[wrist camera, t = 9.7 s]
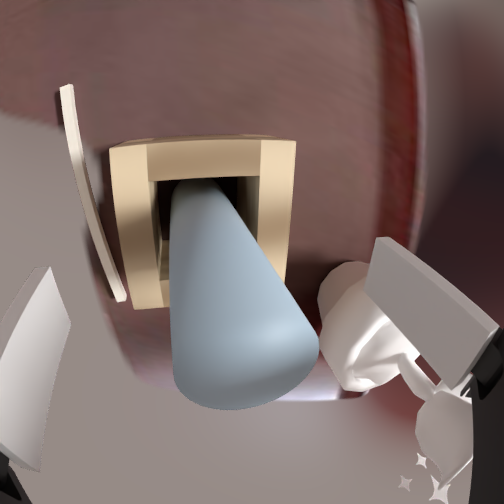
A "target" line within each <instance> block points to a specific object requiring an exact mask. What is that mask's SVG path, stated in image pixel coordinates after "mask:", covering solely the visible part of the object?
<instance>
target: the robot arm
mask: <svg viewBox="0 0 504 504" xmlns="http://www.w3.org/2000/svg"><path fill="white" fill-rule="evenodd" d="M363 291H364V292H365V293H366V294H367V295H368V296H369V297H370V299H371V300H372V301H373V302H374V303H375V304H376V305H377V306H378V307H379V308H380V309H381V310H382V311H383V313H384V314H385V315H386V316H387V317H388V318H389V319H390V320H391V321H392V322H393V323H394V325H395V326H396V327H397V328H398V329H399V330H400V331H401V332H402V334H403V335H404V336H405V337H406V338H407V339H408V340H409V341H410V343H411V344H412V345H413V346H414V347H415V348H416V349H417V351H418V352H419V353H420V354H421V355H422V356H423V358H424V359H425V360H426V361H427V362H428V363H429V365H430V366H431V367H432V368H433V369H434V371H435V372H436V373H437V374H438V375H439V377H440V378H441V379H442V380H443V381H444V383H445V384H446V385H447V386H448V388H449V389H450V390H453V389H454V388H456V387H457V386H458V385H460V384H461V383H462V382H463V381H464V380H465V378H466V377H467V376H468V374H469V373H470V372H472V373H473V374H474V375H473V376H472V377H471V379H470V380H469V381H468V383H467V384H466V385H465V386H464V388H463V389H462V391H461V392H460V396H461V397H462V396H463V395H464V394H465V393H466V391H467V390H468V389H470V390H469V391H468V392H467V394H466V396H465V397H468V398H471V399H472V414H473V466H472V479H471V490H470V497H469V504H504V328H503V330H502V329H501V328H500V327H499V325H497V323H495V322H494V321H493V320H492V319H491V318H490V317H489V316H488V315H487V314H486V313H485V312H483V311H482V310H481V309H480V308H479V307H478V306H477V305H476V304H474V303H473V302H472V301H471V300H470V299H469V298H467V297H466V296H465V295H464V294H463V293H462V292H460V291H459V290H458V289H457V288H456V287H454V286H453V285H452V284H451V283H450V282H448V281H447V280H446V279H444V278H443V277H442V276H441V275H439V274H438V273H437V272H436V271H434V270H433V269H432V268H431V267H429V266H428V265H427V264H425V263H424V262H423V261H421V260H420V259H419V258H417V257H416V256H415V255H413V254H412V253H411V252H409V251H408V250H407V249H405V248H404V247H402V246H401V245H400V244H398V243H397V242H395V241H394V240H393V239H391V238H390V237H380V238H376V241H375V246H374V250H373V254H372V258H371V262H370V266H369V270H368V274H367V277H366V281H365V285H364V288H363ZM70 327H71V322H70V319H69V317H68V314H67V312H66V309H65V307H64V304H63V302H62V299H61V296H60V293H59V291H58V288H57V285H56V282H55V279H54V276H53V273H52V270H51V267H50V266H47V267H36V268H34V269H33V271H32V272H31V274H30V275H29V277H28V278H27V280H26V281H25V283H24V284H23V286H22V287H21V289H20V290H19V292H18V294H17V295H16V297H15V298H14V300H13V302H12V303H11V305H10V307H9V308H8V310H7V312H6V313H5V315H4V317H3V319H2V320H1V323H0V504H32V503H31V501H30V500H29V498H28V496H27V494H26V493H25V491H24V489H23V488H22V485H21V484H20V482H19V480H18V478H17V476H16V474H15V472H14V471H13V470H12V468H11V467H10V466H9V464H8V463H9V459H10V460H11V461H13V462H14V463H16V464H17V465H18V466H20V467H21V468H25V469H29V470H32V471H36V472H40V464H41V454H42V446H43V439H44V432H45V425H46V420H47V414H48V409H49V404H50V399H51V394H52V390H53V386H54V382H55V378H56V374H57V370H58V366H59V363H60V359H61V356H62V352H63V349H64V346H65V342H66V339H67V336H68V333H69V330H70Z"/></svg>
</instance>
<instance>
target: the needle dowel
mask: <svg viewBox="0 0 504 504" xmlns="http://www.w3.org/2000/svg"><path fill="white" fill-rule="evenodd" d="M169 294H170V326H171V346H172V361H173V374H174V380H175V383H176V385H177V387H178V389H179V390H180V392H181V393H182V394H183V395H184V396H185V397H187V398H188V399H189V400H191V401H193V402H195V403H197V404H199V405H201V406H205V407H208V408H213V409H220V410H237V409H246V408H251V407H256V406H259V405H262V404H265V403H268V402H271V401H273V400H275V399H277V398H279V397H281V396H283V395H285V394H286V393H288V392H289V391H291V390H292V389H294V388H295V387H296V386H297V385H299V384H300V383H301V382H302V381H303V380H304V379H305V378H306V376H307V375H308V374H309V373H310V371H311V370H312V368H313V367H314V365H315V363H316V360H317V357H318V353H319V340H318V337H317V335H316V332H315V331H314V329H313V328H312V326H311V325H310V323H309V321H308V320H307V318H306V317H305V315H304V314H303V312H302V311H301V309H300V308H299V306H298V304H297V303H296V301H295V300H294V298H293V297H292V295H291V294H290V292H289V291H288V289H287V288H286V286H285V285H284V283H283V281H282V280H281V278H280V277H279V275H278V274H277V272H276V271H275V269H274V268H273V266H272V265H271V263H270V262H269V260H268V259H267V257H266V255H265V254H264V252H263V251H262V249H261V248H260V246H259V245H258V243H257V242H256V240H255V239H254V237H253V236H252V234H251V233H250V231H249V230H248V228H247V227H246V225H245V224H244V222H243V221H242V219H241V218H240V216H239V215H238V213H237V212H236V210H235V209H234V207H233V206H232V204H231V203H230V201H229V200H228V198H227V197H226V195H225V193H224V192H223V190H222V189H221V187H220V186H219V185H218V183H217V182H216V181H214V180H213V179H212V178H210V177H206V178H189V179H183V180H182V181H180V182H179V183H178V184H177V186H176V187H175V189H174V190H173V193H172V197H171V213H170V245H169Z"/></svg>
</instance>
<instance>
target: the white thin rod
mask: <svg viewBox="0 0 504 504" xmlns="http://www.w3.org/2000/svg"><path fill="white" fill-rule="evenodd" d="M60 95H61V103H62V111H63V118H64V125H65V131H66V137H67V142H68V147H69V152H70V157H71V162H72V166H73V171H74V175H75V179H76V183H77V187H78V191H79V195H80V198H81V202H82V206H83V209H84V212H85V216H86V219H87V222H88V225H89V229H90V232H91V235H92V238H93V241H94V244H95V246H96V249H97V252H98V255H99V258H100V260H101V263H102V266H103V268H104V271H105V273H106V276H107V278H108V281H109V283H110V286H111V288H112V291H113V293H114V295H115V298H116V300H117V302H121V301H126V296H127V295H126V292H125V290H124V287H123V285H122V282H121V280H120V277H119V274H118V272H117V269H116V266H115V263H114V261H113V258H112V255H111V252H110V249H109V246H108V243H107V240H106V237H105V234H104V231H103V228H102V224H101V221H100V218H99V214H98V211H97V207H96V204H95V200H94V196H93V193H92V189H91V185H90V181H89V177H88V173H87V168H86V163H85V159H84V154H83V149H82V144H81V138H80V133H79V127H78V121H77V114H76V107H75V99H74V90H73V85H71V84H68V85H65V86H63V87H61V88H60Z"/></svg>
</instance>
